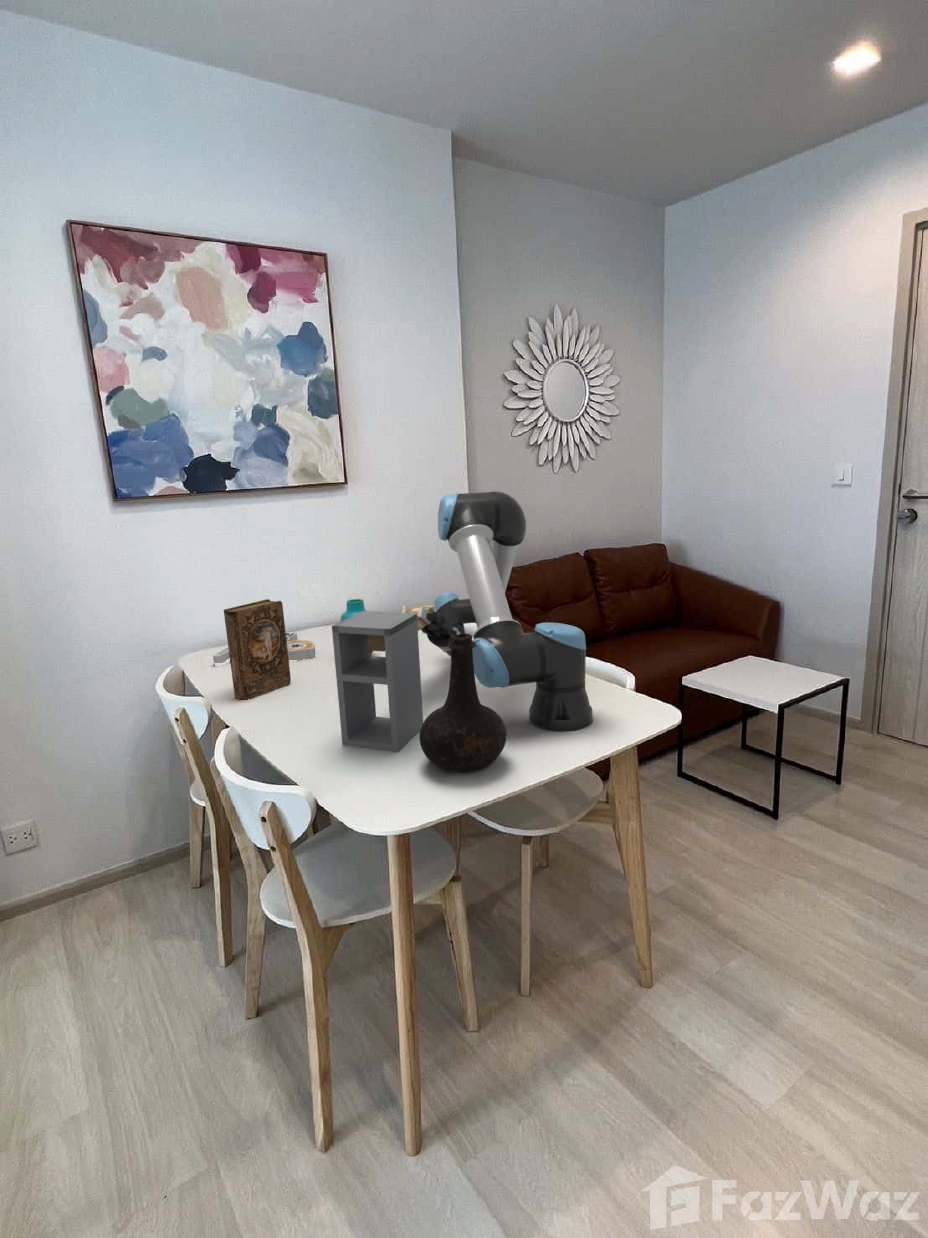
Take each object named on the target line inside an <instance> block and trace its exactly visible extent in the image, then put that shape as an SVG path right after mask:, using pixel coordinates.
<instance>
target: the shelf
mask: <svg viewBox="0 0 928 1238" xmlns="http://www.w3.org/2000/svg"><path fill="white" fill-rule="evenodd" d="M340 621H341V620H340ZM340 621H338V622H337V623H334V624H333V625H331V631H332V644H333V654H334V664H335V667H334V668H335V676H336V678H335V679H336V687H337V698H338V699H337V700H338V709H339V710H338V711H339V722H340V732H341V744H342V746H347V747H355V748H363V749H371V750H379V751H387V752H393V753H394V752H395V753H399V752H400V751H401V750H402V749H403V748H404V747H405V746H407V744H408V743H409V742H410V741H412V739H413V738H414V737H415V736H416V735H417V734H419V733H420V730H421V727H422V724H423V722H424V714H423V713H424V712H423V697H422V682H421V681H422V680H421V664H420V663H421V661H420V660H421V659H420V648H419V647H420V646H419V631H418V625H417V614H415V613H402V612H392V611H390V612H389V611H372V610H371V611H369V610H366V611H362V612H359V613H357V614H355V615H353V616H351V617H349V618H347V619H345V620H343V621H341V622H340ZM367 635H382V636H384V642H385V651H384V654H385V656H377V655H372V654H371V651H369V650H368V639H367ZM375 684H376V685H385V686H387V696H388V710H389V713H388V714H389V717H384V716H383V717H382V716H377V710H376V695H375Z"/></svg>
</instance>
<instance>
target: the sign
mask: <svg viewBox="0 0 928 1238" xmlns="http://www.w3.org/2000/svg"><path fill="white" fill-rule="evenodd" d="M286 640H287V649H288V658H289V660H303V659H308V658H309V659H312V658H315V659H316V656H315V654H316V646H315V645H316V644H315V643H314V641H312V640H308V639H305V640H304V639H298V632H287V631H286ZM316 655H317V654H316ZM212 657H213V658H212V659H213V664H214V663H223V662H225V661H226V660H227V659H229V658H230V656H229V648H228V647H226V648H223V649H222V650H220V651H218V652H216V653H215V654H213V655H212ZM309 659H308V660H309ZM312 660H313V659H312Z"/></svg>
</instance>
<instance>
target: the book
mask: <svg viewBox="0 0 928 1238" xmlns="http://www.w3.org/2000/svg"><path fill="white" fill-rule="evenodd" d="M284 614H285V613H284V607H283V602H282V600H277V601H272V600H270V599H269V598H267V599H262V600H259V601H255V602H250V603H246V604H241V605H237V606H233V607H229V608H225V609H223V616H224V623H225V630H226V640H227V648H229V656H230V662H229V663H230V669H231V677H232V678H231V679H232V686H233V687H232V688H233V692H234V693H233V694H234V699H235V700H236V699H239V700H248V699H250V700H253V699H255V697H256V698H258V697H261V696H263V695H265V694H268V692H269V693H270V692H273V690H274V691H276V690H275V689H277V690H279V689H282V688H283V687H286V686H288V685H290V684H291V677H292V676H291V667H290V662H289V658H288V649H287V640H286V632H287V631H286V623H285V615H284ZM262 694H263V695H262ZM260 695H261V696H260ZM257 696H258V697H257ZM252 698H253V699H252ZM239 700H238V701H239ZM248 701H249V700H248Z"/></svg>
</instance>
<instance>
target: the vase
mask: <svg viewBox="0 0 928 1238" xmlns="http://www.w3.org/2000/svg"><path fill="white" fill-rule="evenodd" d="M362 611H367V609H366V608H365V603H364V599H362V598H352V599H351V598H350V599H347V600H346V611H345V612H343V613H342V614H341V616H340V621H339V622H341V621H343V620H345V619H347V618H349V617H351V616H353V615H355V614H357V613H359V612H362ZM373 652H374V651H371V655H372V654H373Z"/></svg>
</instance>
